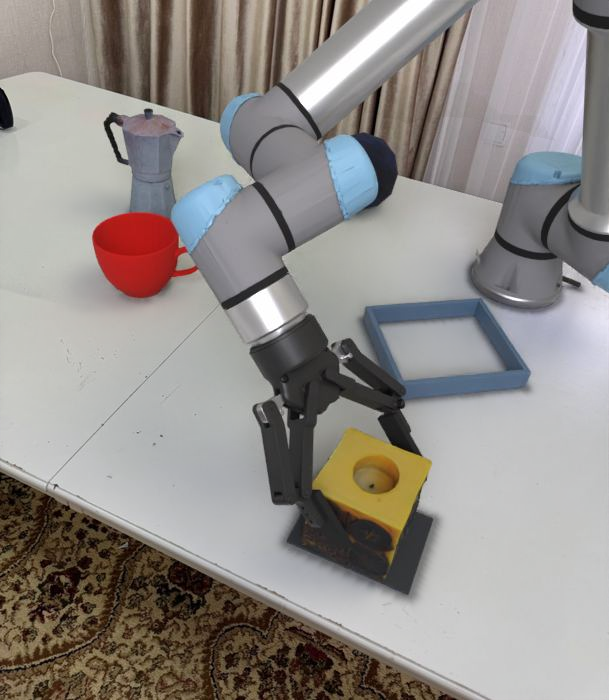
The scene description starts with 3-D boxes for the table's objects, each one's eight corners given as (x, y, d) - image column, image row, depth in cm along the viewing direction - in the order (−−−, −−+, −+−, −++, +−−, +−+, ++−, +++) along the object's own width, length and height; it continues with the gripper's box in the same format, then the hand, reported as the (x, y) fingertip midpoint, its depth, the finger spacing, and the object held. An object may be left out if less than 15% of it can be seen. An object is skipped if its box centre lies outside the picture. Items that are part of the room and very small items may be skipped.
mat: (286, 542, 68) (287, 540, 68) (321, 476, 75) (321, 474, 75) (408, 595, 65) (408, 593, 65) (432, 520, 72) (433, 518, 72)
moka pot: (181, 230, 115) (173, 124, 102) (103, 217, 117) (85, 111, 104) (198, 206, 122) (192, 104, 109) (124, 194, 124) (109, 92, 111)
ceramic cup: (191, 320, 96) (188, 266, 89) (87, 303, 97) (76, 248, 91) (215, 274, 106) (213, 222, 99) (120, 258, 107) (112, 206, 100)
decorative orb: (319, 156, 131) (327, 116, 116) (389, 159, 132) (406, 120, 117) (319, 219, 128) (326, 187, 114) (390, 222, 129) (407, 190, 115)
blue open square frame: (476, 312, 102) (481, 297, 100) (525, 387, 90) (531, 372, 88) (362, 320, 99) (365, 305, 97) (396, 400, 86) (399, 385, 84)
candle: (298, 544, 68) (304, 489, 61) (336, 478, 75) (345, 423, 68) (385, 586, 65) (401, 534, 58) (416, 514, 72) (434, 459, 65)
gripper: (331, 287, 72) (417, 438, 76) (166, 400, 57) (282, 583, 61) (375, 267, 66) (465, 432, 70) (204, 388, 51) (330, 591, 55)
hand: (381, 503), depth 65 cm, fingers open, 13 cm apart
